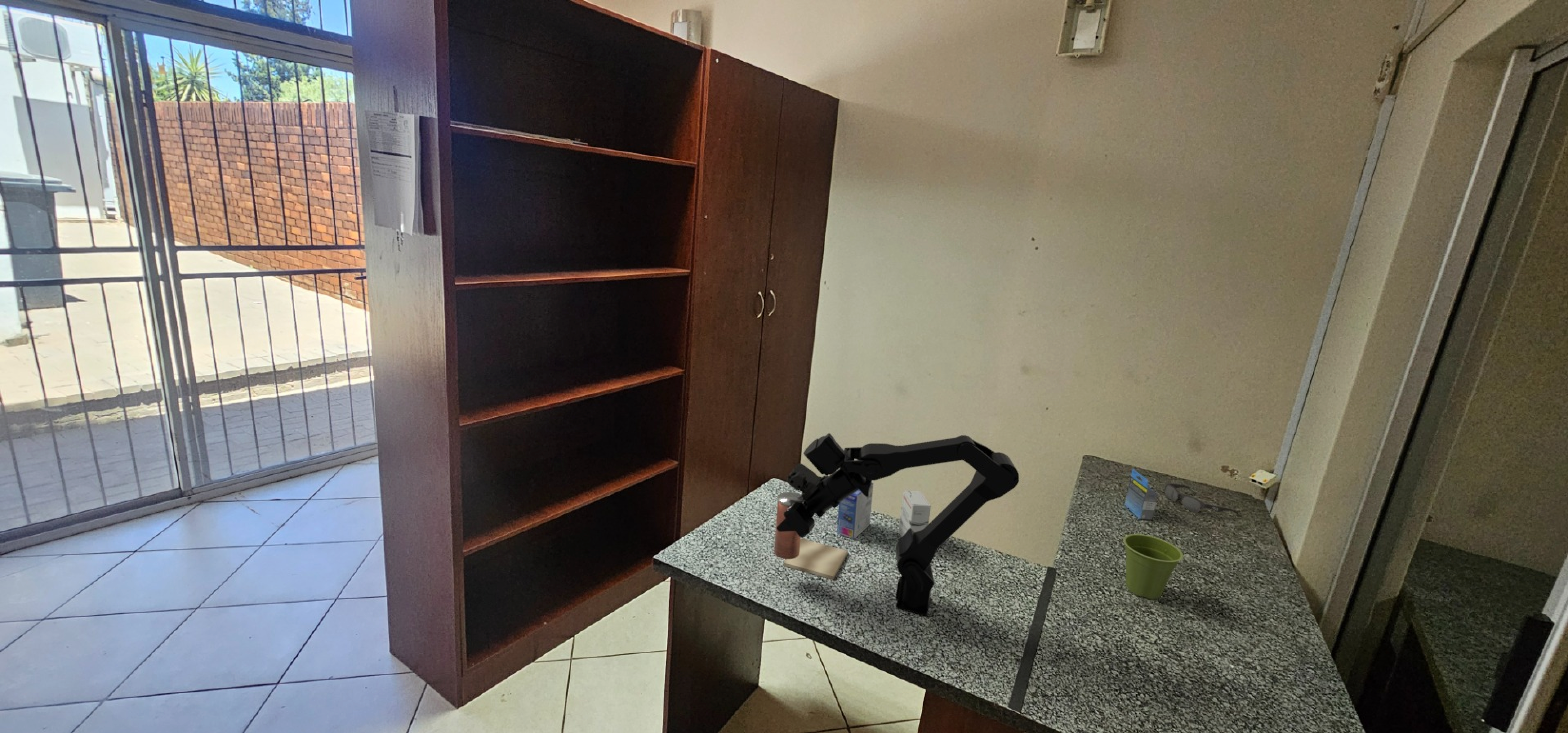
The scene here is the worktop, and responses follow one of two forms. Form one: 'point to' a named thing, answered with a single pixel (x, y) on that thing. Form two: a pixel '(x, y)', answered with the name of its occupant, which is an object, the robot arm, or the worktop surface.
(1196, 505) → the sunglasses
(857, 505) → the ink cartridge box
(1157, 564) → the plant pot
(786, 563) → the coaster
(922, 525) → the ink box
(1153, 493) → the label tape cartridge
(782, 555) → the tin
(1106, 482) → the worktop surface
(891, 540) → the worktop surface
